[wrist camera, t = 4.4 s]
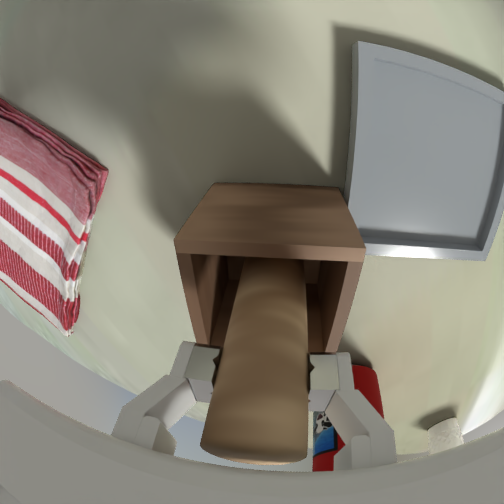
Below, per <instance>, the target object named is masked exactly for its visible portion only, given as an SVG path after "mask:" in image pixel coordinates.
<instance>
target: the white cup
mask: <svg viewBox="0 0 504 504" xmlns="http://www.w3.org/2000/svg"><path fill="white" fill-rule="evenodd" d="M427 433H428V440H429V443H428V446H429V455H431V454H434V453H438V452H441V451H444V450H448V449H451V448H454V447H457V446H459V445H462V444H464V440H463V436H462V433H461V429H460V428H459V425H458V421H457V418H450V419H447V420H444V421H442V422H439V423H438V424H436V425H434V426H432V427H431V428H429V430H428V431H427Z"/></svg>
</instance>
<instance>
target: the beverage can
mask: <svg viewBox="0 0 504 504" xmlns="http://www.w3.org/2000/svg"><path fill="white" fill-rule="evenodd" d="M351 366H352V373H353V381H354V390H359V391H360V392H361V393H362V395H363V396H364V397H365V398H366V399H367V400H368V402H369V403H370V404H371V405H372V406H373V407H374V409H375V410H376V411H377V412H378V413H379V414H380V415H381V417H382V418H383V419H384V414H383V407H382V401H381V395H380V389H379V384H378V379H377V374H376V372H375V371H374V370H373V369H371V368H369V367H366V366H360V365H355V364H351ZM344 446H345V443H344V441H343V440H342V438H341V437H340V435H339V434H338V432H337V431H336V429H335V428H334V426H333V425H332V423H331V421H330V420H329V418H328V417H327V415H326V414H325V411H314V413H313V472H319V471H334V456H335V455H336V454H337V453H338V452H339V451H340V450H341V449H342V448H343V447H344Z"/></svg>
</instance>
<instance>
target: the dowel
mask: <svg viewBox="0 0 504 504" xmlns="http://www.w3.org/2000/svg"><path fill="white" fill-rule="evenodd" d="M200 446H201V448H202V449H203V450H205V451H206V452H208V453H210V454H213V455H215V456H217V457H220V458H224V459H227V460H231V461H235V462H241V463H247V464H258V465H279V464H288V463H294V462H298V461H301V460H303V459H304V458H306V457H307V447H308V330H307V305H306V286H305V269H304V259H287V258H266V257H245V261H244V265H243V269H242V273H241V277H240V281H239V285H238V289H237V293H236V297H235V302H234V306H233V310H232V314H231V318H230V322H229V326H228V330H227V334H226V338H225V342H224V347H223V351H222V355H221V359H220V363H219V367H218V371H217V376H216V380H215V384H214V388H213V392H212V396H211V400H210V405H209V409H208V413H207V417H206V421H205V426H204V430H203V434H202V438H201V443H200Z"/></svg>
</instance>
